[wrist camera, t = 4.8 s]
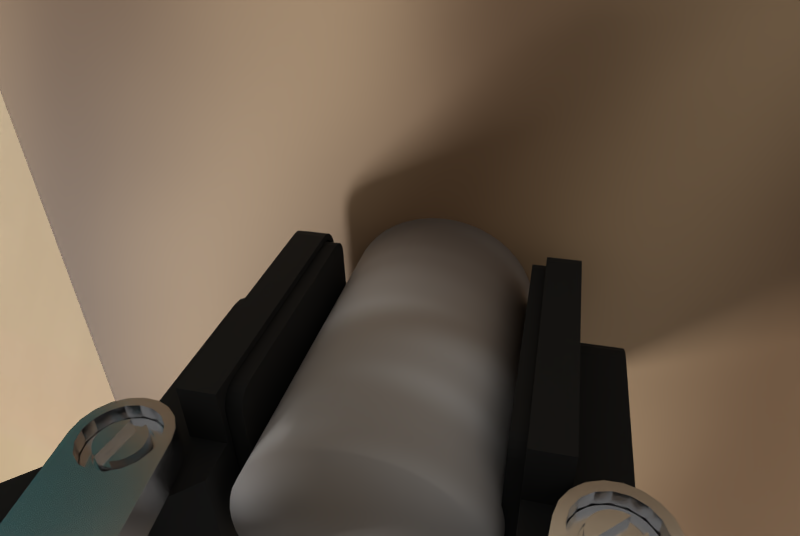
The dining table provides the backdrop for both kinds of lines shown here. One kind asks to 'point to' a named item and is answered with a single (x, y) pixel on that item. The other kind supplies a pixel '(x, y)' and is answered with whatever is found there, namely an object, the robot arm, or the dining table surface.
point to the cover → (438, 229)
